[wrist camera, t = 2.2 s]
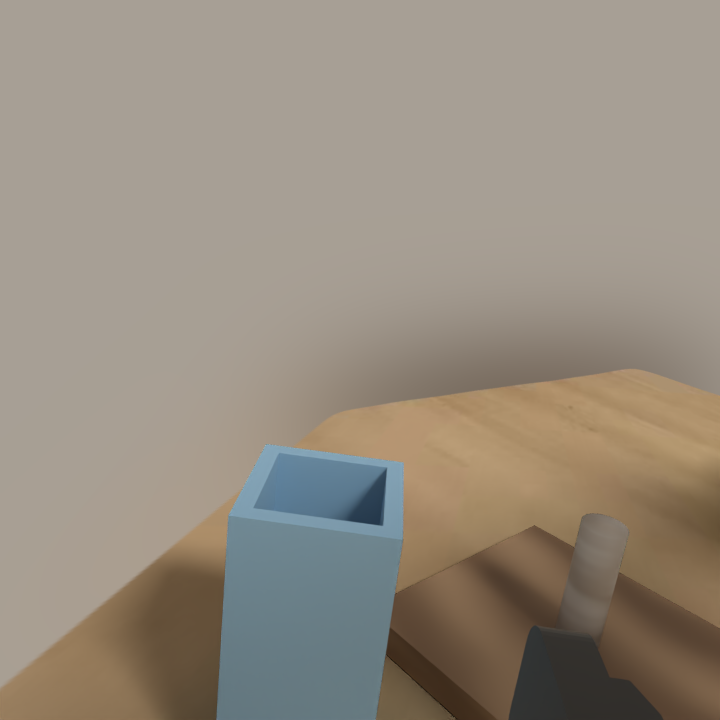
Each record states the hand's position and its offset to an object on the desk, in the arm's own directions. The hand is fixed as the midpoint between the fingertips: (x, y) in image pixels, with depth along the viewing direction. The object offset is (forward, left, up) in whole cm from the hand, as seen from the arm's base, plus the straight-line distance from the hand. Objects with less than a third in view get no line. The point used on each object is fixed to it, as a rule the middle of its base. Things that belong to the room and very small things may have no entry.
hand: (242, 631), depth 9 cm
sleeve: (-8, -8, -15) cm, 19 cm away
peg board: (-21, -4, -15) cm, 26 cm away
